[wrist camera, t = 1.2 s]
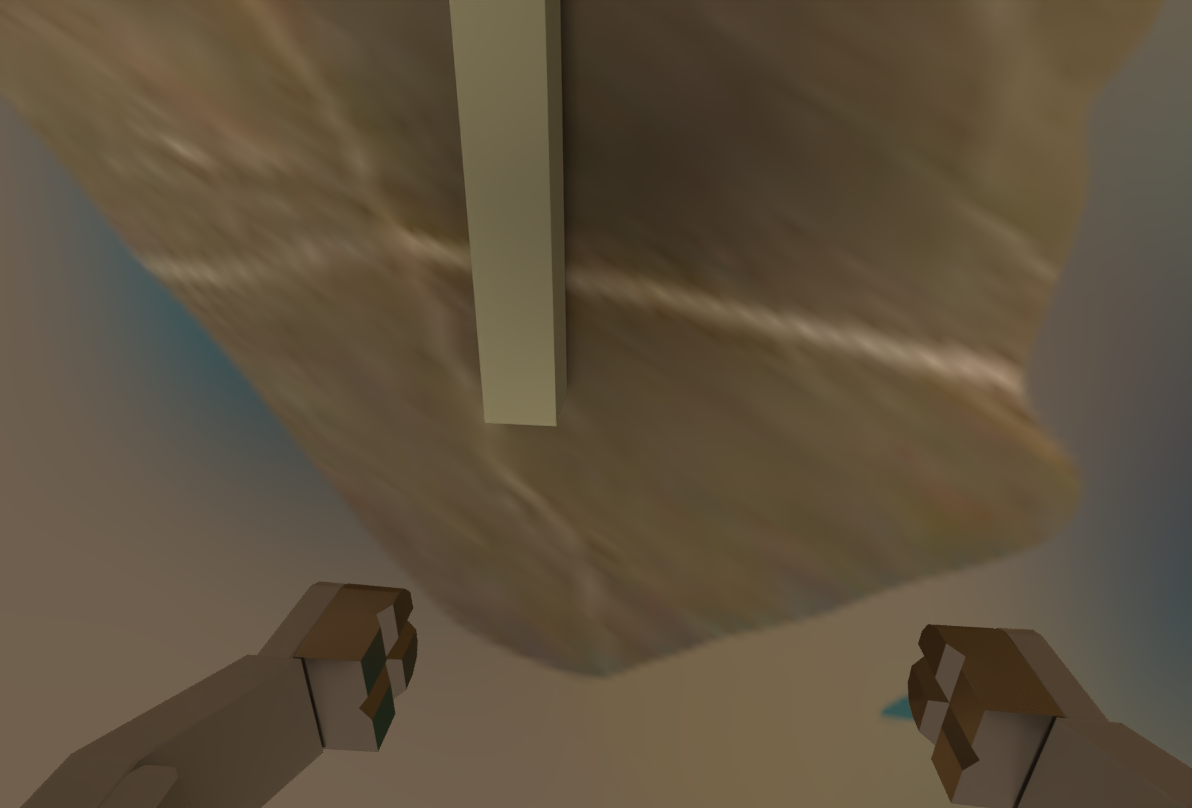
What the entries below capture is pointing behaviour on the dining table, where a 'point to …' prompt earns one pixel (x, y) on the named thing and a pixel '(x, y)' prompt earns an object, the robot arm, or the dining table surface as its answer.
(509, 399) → the folding leg
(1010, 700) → the robot arm
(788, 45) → the dining table surface
